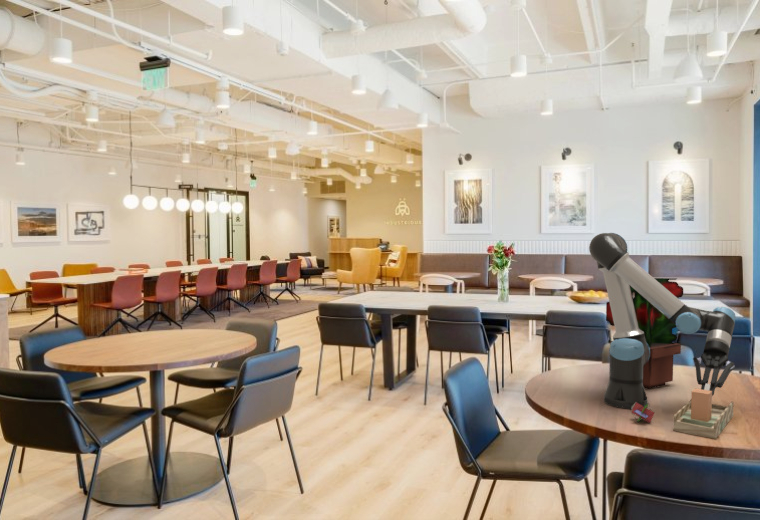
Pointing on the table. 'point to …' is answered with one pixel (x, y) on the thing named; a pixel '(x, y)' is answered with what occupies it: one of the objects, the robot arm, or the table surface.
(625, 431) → the table surface
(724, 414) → the beige open frame
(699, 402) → the block
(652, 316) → the potted plant
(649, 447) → the table surface
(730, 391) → the table surface
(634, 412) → the icosahedron model
